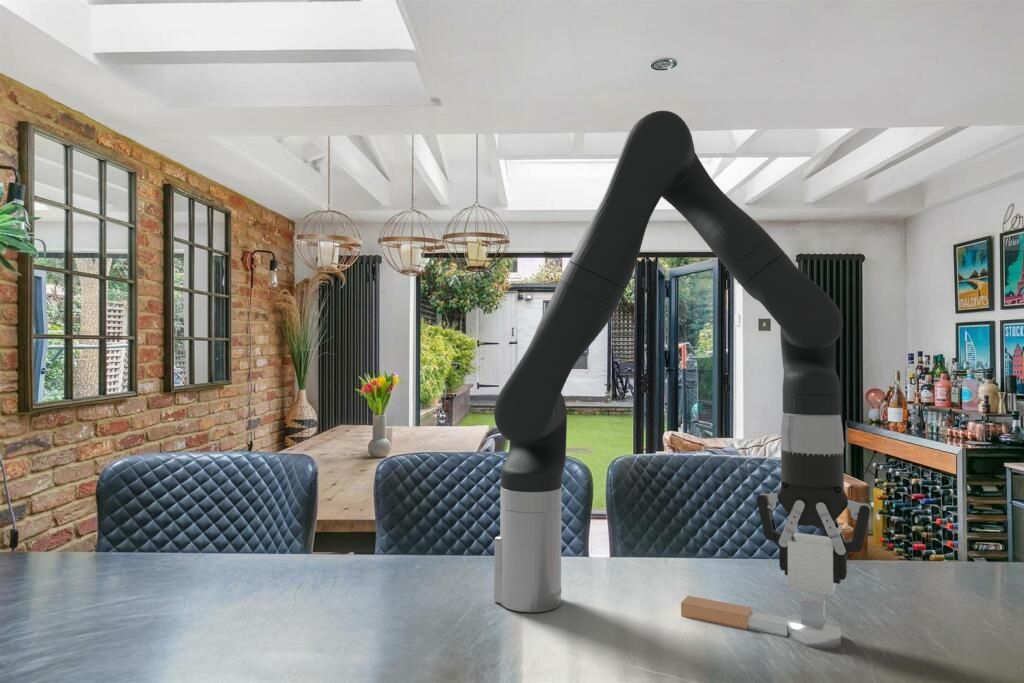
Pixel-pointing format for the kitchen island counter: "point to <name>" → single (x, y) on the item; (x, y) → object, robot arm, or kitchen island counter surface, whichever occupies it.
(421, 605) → the kitchen island counter surface
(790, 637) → the ratchet
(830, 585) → the light grey block
